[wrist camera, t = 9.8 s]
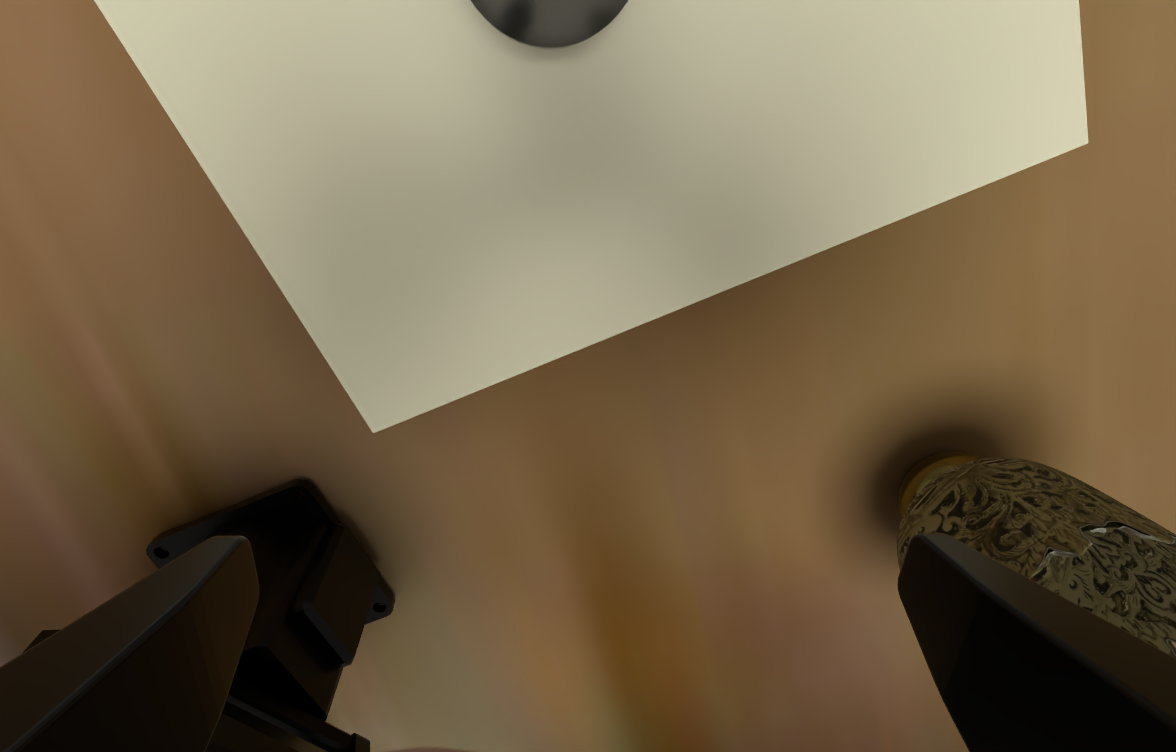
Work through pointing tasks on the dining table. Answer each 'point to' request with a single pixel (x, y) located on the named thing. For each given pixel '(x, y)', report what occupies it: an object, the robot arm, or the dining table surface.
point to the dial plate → (581, 156)
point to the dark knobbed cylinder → (549, 20)
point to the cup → (1050, 536)
